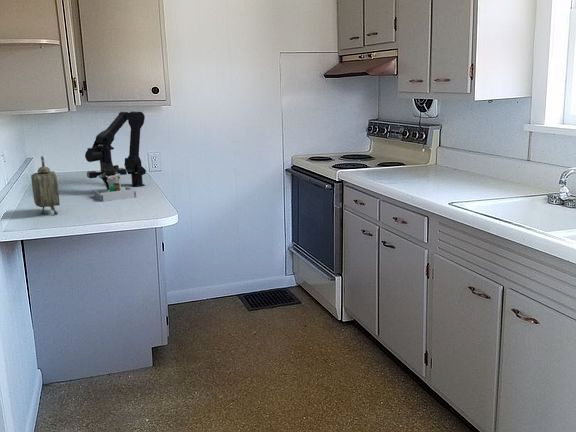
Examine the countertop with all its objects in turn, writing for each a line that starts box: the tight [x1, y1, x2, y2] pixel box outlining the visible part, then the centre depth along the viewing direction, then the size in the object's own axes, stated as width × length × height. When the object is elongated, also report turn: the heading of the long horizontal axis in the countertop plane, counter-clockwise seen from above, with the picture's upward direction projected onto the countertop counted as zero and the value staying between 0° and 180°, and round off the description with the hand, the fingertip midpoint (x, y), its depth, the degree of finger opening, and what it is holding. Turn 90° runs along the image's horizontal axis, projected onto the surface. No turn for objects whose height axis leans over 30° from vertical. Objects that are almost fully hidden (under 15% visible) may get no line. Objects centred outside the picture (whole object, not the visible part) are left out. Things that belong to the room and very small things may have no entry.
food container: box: [107, 174, 122, 192], centre depth 281 cm, size 12×6×10 cm, turn 14°
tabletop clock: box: [30, 155, 61, 216], centre depth 248 cm, size 14×9×25 cm, turn 28°
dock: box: [92, 185, 137, 202], centre depth 283 cm, size 15×17×4 cm
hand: (108, 189), depth 294 cm, fingers closed
